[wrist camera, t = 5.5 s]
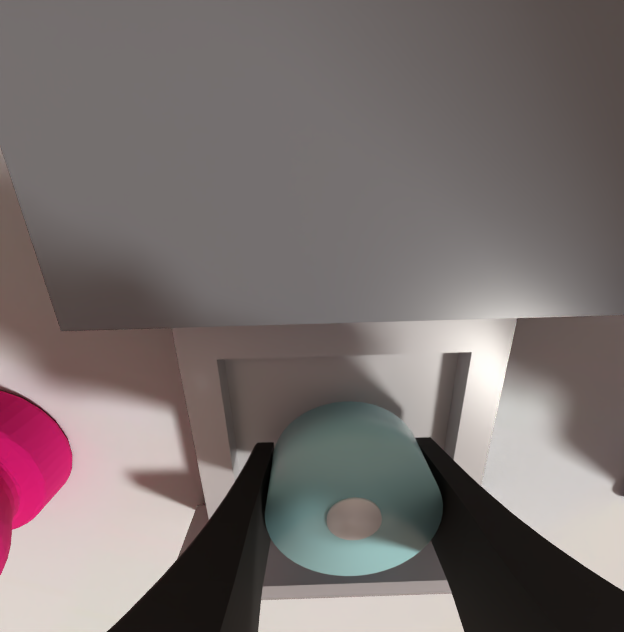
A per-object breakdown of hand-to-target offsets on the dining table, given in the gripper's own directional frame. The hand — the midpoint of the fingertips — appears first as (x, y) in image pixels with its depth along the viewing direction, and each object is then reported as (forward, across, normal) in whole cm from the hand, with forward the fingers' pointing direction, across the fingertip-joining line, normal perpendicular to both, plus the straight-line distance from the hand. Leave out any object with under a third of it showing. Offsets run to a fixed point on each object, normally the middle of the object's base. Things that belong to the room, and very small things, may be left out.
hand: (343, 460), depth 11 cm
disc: (0, 0, 0) cm, 1 cm away
